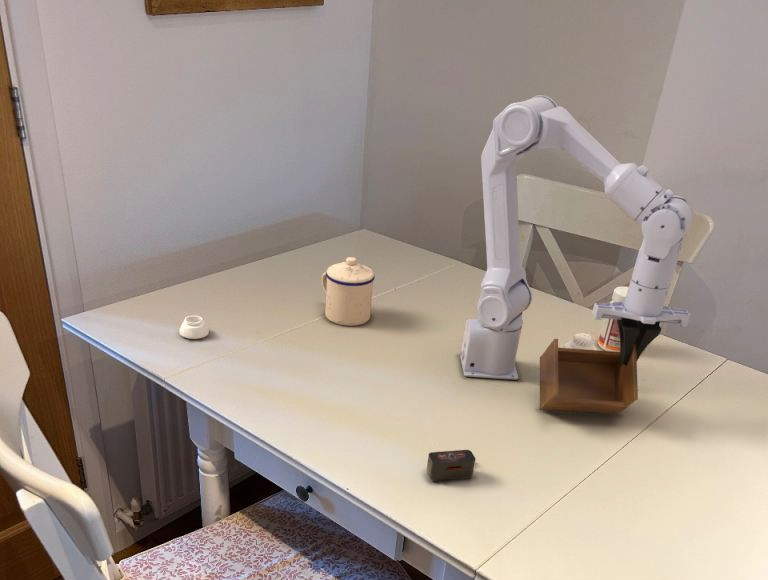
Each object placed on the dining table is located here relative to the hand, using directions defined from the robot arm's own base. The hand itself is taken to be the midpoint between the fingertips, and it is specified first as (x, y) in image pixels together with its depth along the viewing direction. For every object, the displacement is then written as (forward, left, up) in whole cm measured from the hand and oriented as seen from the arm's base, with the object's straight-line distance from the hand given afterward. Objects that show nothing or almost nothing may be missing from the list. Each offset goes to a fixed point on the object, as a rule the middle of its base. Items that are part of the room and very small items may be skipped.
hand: (626, 362), depth 125 cm
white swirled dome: (-3, +14, -9) cm, 17 cm away
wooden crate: (-6, +1, -6) cm, 9 cm away
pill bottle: (+6, +24, -9) cm, 26 cm away
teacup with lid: (-46, +30, -9) cm, 55 cm away
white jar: (-72, +17, -9) cm, 74 cm away
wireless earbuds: (-29, -20, -9) cm, 36 cm away
